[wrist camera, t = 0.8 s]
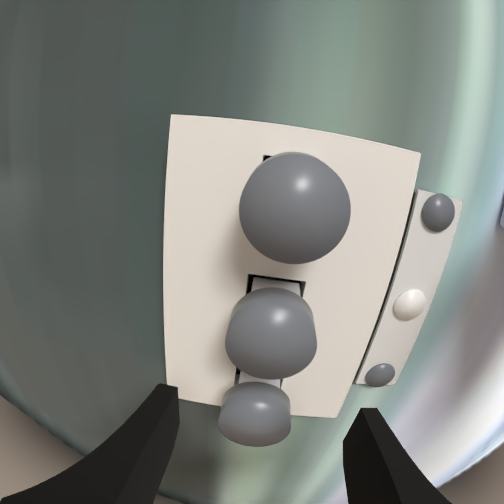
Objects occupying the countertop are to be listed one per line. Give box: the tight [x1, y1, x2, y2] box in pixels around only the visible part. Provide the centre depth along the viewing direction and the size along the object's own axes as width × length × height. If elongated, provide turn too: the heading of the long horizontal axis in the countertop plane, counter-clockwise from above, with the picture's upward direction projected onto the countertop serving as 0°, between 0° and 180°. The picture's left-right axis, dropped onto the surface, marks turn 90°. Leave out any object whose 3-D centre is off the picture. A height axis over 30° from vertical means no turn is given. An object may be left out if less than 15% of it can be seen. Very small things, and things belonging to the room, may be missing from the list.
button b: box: [225, 277, 317, 380], centre depth 16 cm, size 4×4×4 cm
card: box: [355, 189, 463, 387], centre depth 19 cm, size 3×14×1 cm, turn 173°
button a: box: [239, 152, 351, 264], centre depth 13 cm, size 4×4×4 cm
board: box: [163, 115, 421, 418], centre depth 18 cm, size 12×18×2 cm, turn 173°
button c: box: [218, 371, 291, 447], centre depth 18 cm, size 4×4×4 cm
